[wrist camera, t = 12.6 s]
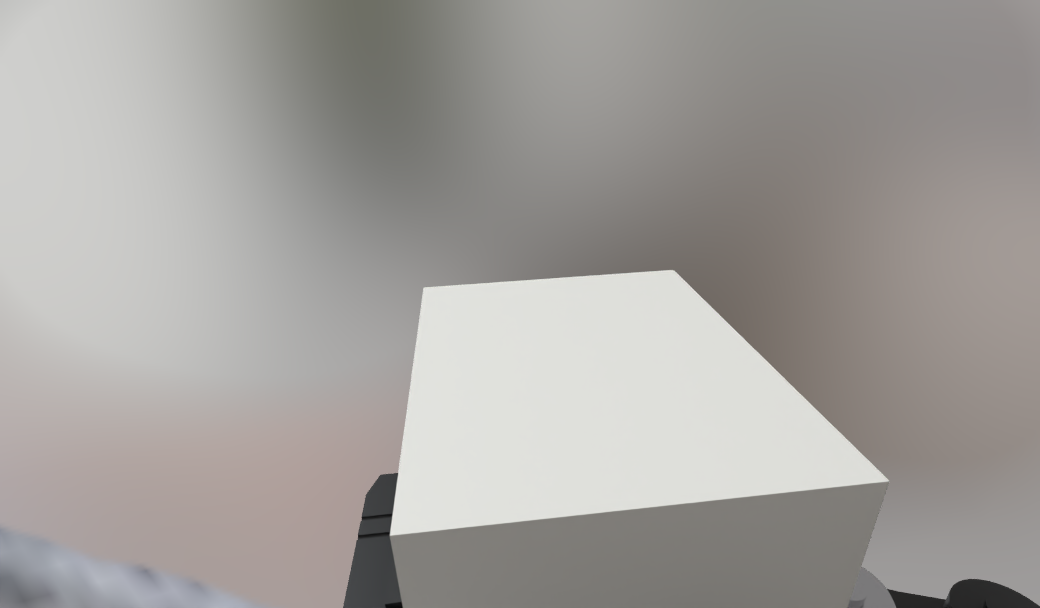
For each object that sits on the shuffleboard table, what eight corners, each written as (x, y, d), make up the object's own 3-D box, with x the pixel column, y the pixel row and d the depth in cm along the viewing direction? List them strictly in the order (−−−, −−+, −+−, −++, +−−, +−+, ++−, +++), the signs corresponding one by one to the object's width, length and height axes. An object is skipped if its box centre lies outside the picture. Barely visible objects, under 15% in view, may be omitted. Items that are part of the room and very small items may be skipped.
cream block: (746, 909, 10) (889, 481, 5) (467, 959, 9) (390, 535, 5) (641, 603, 15) (673, 269, 11) (462, 625, 15) (423, 288, 10)
